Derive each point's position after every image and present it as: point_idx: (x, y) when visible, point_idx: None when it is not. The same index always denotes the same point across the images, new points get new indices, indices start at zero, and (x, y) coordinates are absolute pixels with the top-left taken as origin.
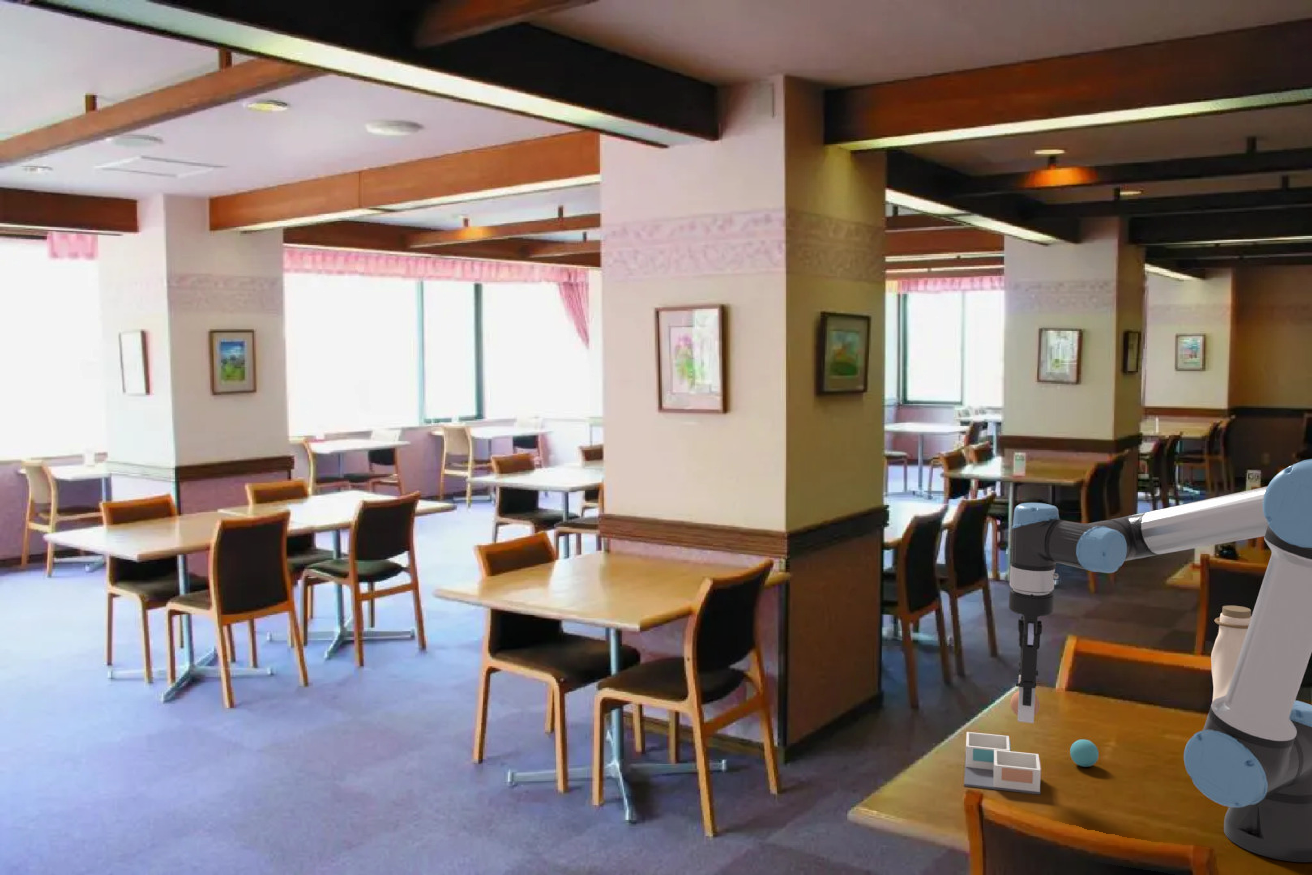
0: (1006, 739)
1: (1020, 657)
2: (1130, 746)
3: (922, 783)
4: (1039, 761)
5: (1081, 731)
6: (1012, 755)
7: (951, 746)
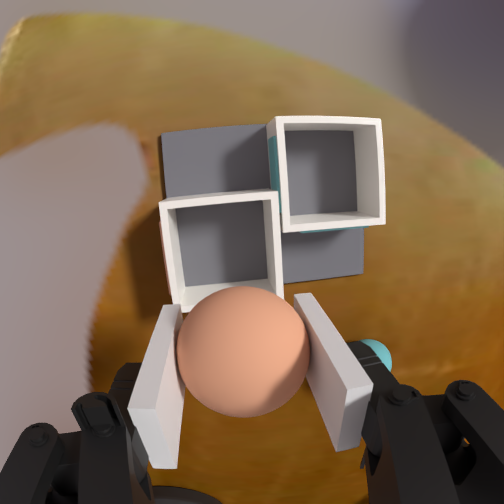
0: (360, 219)
1: (477, 434)
2: (436, 390)
3: (147, 54)
4: None
5: (482, 324)
6: (271, 238)
7: (384, 97)
